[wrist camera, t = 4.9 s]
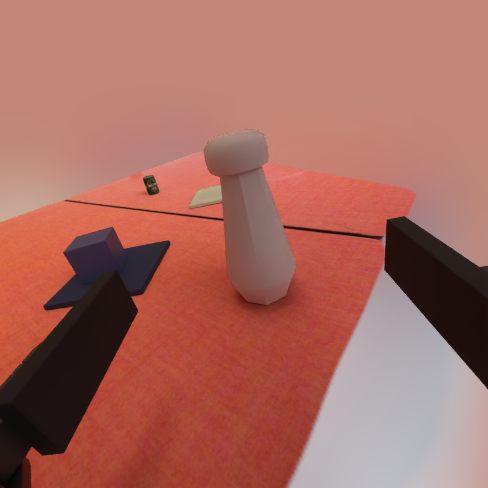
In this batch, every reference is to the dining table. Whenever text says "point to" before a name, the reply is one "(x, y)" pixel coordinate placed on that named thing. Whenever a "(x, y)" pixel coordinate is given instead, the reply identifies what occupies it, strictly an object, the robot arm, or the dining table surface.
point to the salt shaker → (250, 217)
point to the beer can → (151, 184)
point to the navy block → (96, 254)
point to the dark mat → (133, 275)
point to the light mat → (207, 197)
